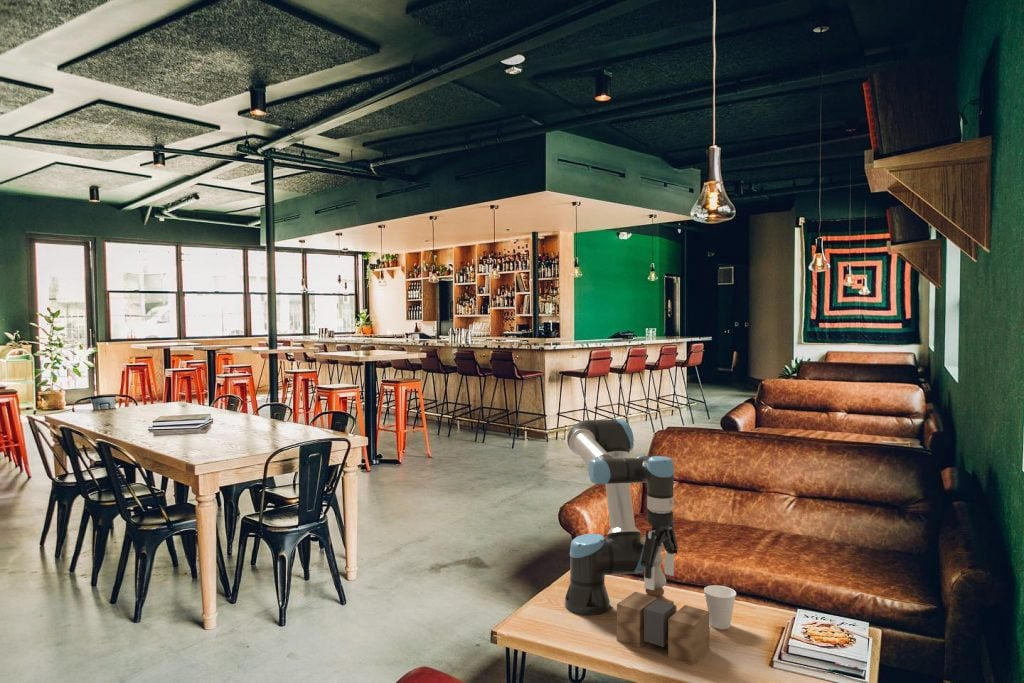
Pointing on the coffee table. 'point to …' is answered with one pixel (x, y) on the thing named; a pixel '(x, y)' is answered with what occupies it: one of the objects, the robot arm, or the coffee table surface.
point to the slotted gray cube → (657, 622)
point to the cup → (720, 605)
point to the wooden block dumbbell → (683, 628)
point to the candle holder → (658, 577)
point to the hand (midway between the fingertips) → (659, 581)
